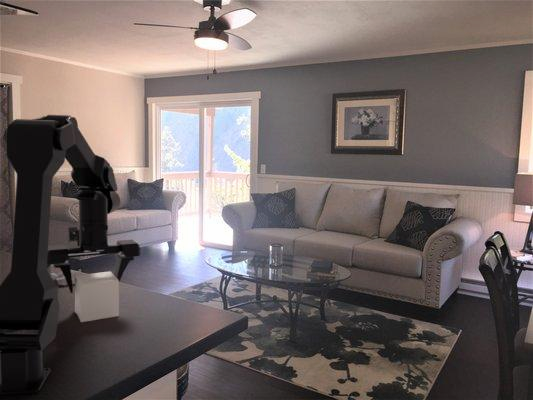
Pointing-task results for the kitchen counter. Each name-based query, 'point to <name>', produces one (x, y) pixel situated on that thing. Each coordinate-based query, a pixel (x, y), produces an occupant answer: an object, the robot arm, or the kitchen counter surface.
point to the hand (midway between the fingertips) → (94, 289)
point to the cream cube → (96, 296)
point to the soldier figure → (62, 279)
